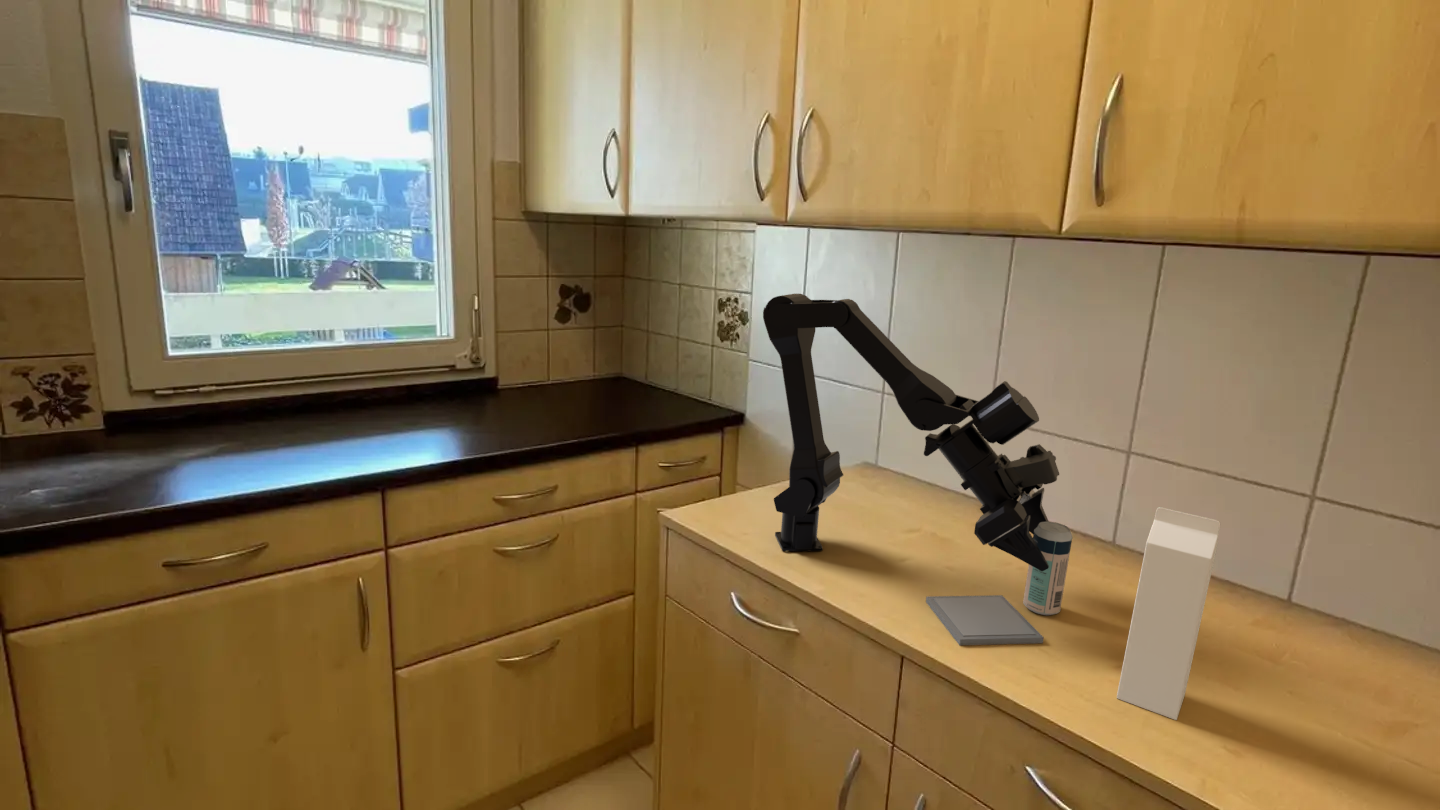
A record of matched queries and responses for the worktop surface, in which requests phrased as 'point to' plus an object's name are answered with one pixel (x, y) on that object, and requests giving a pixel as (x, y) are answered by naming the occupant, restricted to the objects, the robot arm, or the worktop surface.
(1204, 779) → the worktop surface
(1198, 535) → the milk
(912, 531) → the worktop surface
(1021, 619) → the trivet
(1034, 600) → the beer can
